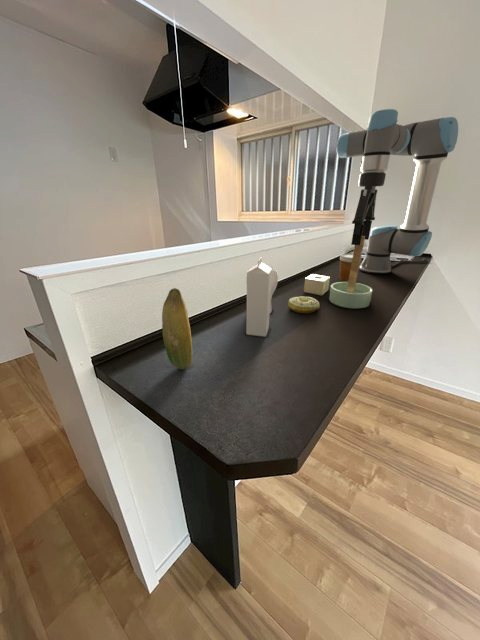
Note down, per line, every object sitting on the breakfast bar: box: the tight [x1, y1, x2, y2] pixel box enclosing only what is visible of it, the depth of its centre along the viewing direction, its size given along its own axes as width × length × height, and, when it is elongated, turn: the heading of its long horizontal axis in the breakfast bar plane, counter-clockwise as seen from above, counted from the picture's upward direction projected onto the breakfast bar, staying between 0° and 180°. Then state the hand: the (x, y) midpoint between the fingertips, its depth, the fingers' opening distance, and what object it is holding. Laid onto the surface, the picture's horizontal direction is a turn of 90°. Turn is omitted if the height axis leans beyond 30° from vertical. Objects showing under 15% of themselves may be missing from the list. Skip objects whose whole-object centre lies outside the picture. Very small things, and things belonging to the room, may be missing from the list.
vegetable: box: [161, 287, 193, 370], centre depth 58 cm, size 6×6×20 cm
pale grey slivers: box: [245, 266, 279, 314], centre depth 91 cm, size 11×11×15 cm
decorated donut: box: [288, 295, 320, 314], centre depth 95 cm, size 10×11×4 cm
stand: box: [303, 273, 331, 296], centre depth 112 cm, size 8×8×6 cm
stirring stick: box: [346, 236, 366, 293], centre depth 96 cm, size 2×2×24 cm
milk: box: [245, 256, 273, 338], centre depth 75 cm, size 6×6×22 cm
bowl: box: [328, 281, 374, 309], centre depth 100 cm, size 15×15×6 cm
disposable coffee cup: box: [339, 253, 362, 282], centre depth 125 cm, size 10×10×12 cm
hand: (360, 242), depth 92 cm, fingers open, 13 cm apart
